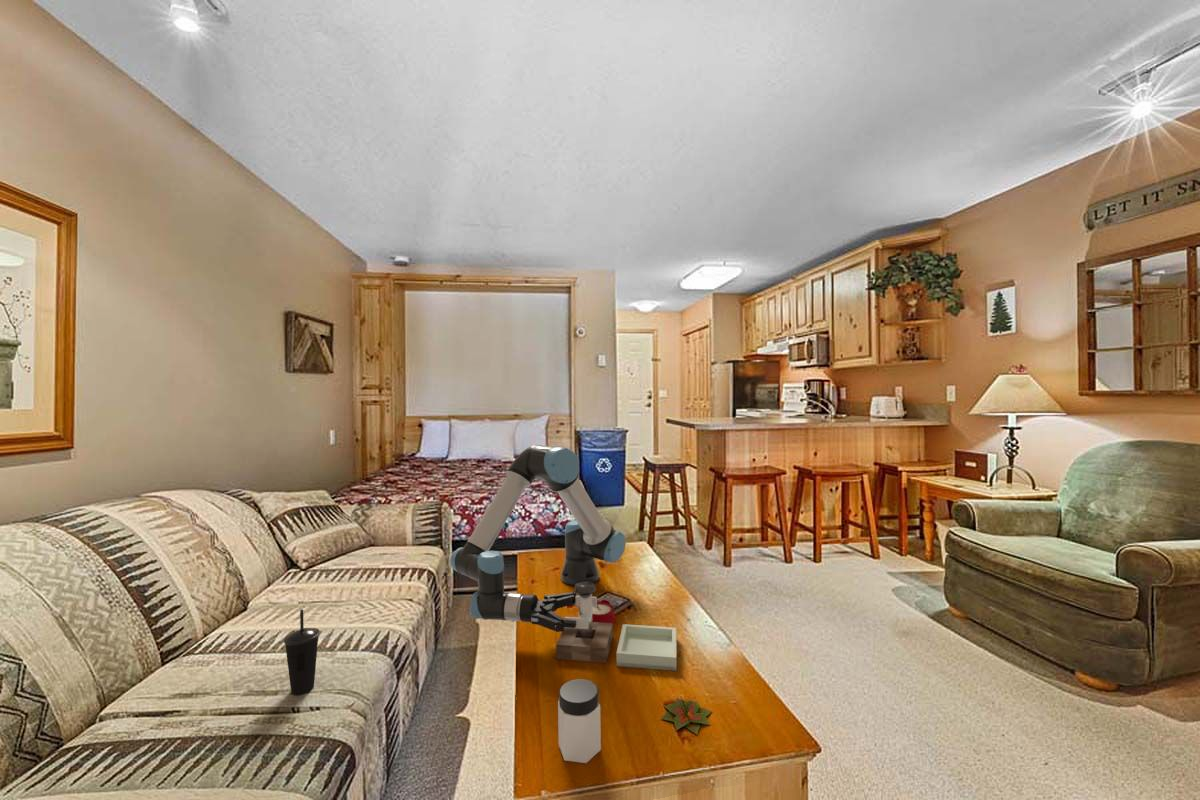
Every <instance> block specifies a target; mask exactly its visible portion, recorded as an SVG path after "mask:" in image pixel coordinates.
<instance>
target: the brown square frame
mask: <svg viewBox="0 0 1200 800" xmlns="http://www.w3.org/2000/svg"><path fill="white" fill-rule="evenodd" d="M592 627H593V639H588V638H579V629H578V628H565V627H564V631H563V632H561V634H560V636H559V637H558V640H557V642H556V643H555V644H556V647H555V651H556V653H555V655H556V656H555V657H556V659H557V660H564V661H565V660H567V661H575V662H576V661H577V662H579V661H580V662H591V663H604V664H606V663H607V662H606V661H608V658H607V657H609V654H610V649H611V646H612V643H613V642H612V641H613V637H614V629H613V628H614V623H599V622H592Z"/></svg>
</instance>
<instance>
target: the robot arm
mask: <svg viewBox="0 0 1200 800" xmlns="http://www.w3.org/2000/svg"><path fill="white" fill-rule="evenodd" d="M579 465H580V460H579V457H578V455H577V453H576V452H574V451H573V450H572V449H570V448H566V447H564V446H559V445H558V446H554V445H542V444H535V445H532V446H529V447H527V448H526V449H524V450H523V451H522V452H520V454H519V455H518V456H517V457H516V458H515V459H514V461H512V463H511V465H510V466H509V467H508V468H507V471H506V473H505V474H506V477H505V479H504V481H503V482H502V485H501V486H500V487H499V489H498V491H497V492H496V494H495V495H494V497H493V499H492V500H491V502H490V504H489V506H488V507H487V508H486V510H485V512H484V514H483V515H482V517H481V518H480V520H479V522H478V523H477V525H476V527H475V529H474V530H473V532H472V534H471V535H470V536H469V538H468V540H467V541H466V543H465V545H464V546H463V547H458V548H457V549H456V550H454V551H453V553H451V556H450V559H449V563H450V567H451V568H452V569H453V570H454V572H457V573H458V575H459V574H460V575H462V576H465V577H468V578H469V579H472V580H474V581H476V582H477V584H478V585H477V587H478V590H477V591H475V592H474V593H473V594H472V596H471V597H470V605H469V612H470V616H471V617H472V618H475V619H481V620H485V621H486V620H487V621H488V620H497V621H498V620H499V621H510V622H512V623H514V622H520V621H521V622H523V623H531V625H535V626H536V625H538V626H541V627H544V628H545V629H549V630H551V631H553V632H556V633H560V632H561V633H562V632H563V631H564V627H565V628H578V629H588V628H589V621H588V618H579V616H578V617H577V616H565V617H563V616H561V615H559V614H557V613H555V611H557V610H558V609H561V608H565V607H569V606H573V605H575V606H577V607H579V606H578V595H577V593H575V591H570V592H564V593H556V594H545V595H543V599H539V598H538V596H537V594H531V593H525V594H523V593H515V592H505V586H504V583H505V581H504V580H505V579H504V578H505V564H504V563H505V562H504V555H503V552H501V551H499V550H491V548H492V546H493V545H494V543H495V540H496V539H497V537H498V535H499V534H500V532H501V530H502V528H503V526H504V525H505V523H506V521H507V520H508V519H509V517H510V515H511V513H512V511H513V510H514V508H515V507H516V505H517V503H518V501H519V500H520V498H521V497H522V495H523V492H524V491H525V489H526V488H529V487H531V485H532V483H533V482H534V481H535V480H537V479H538V480H542V481H544V482H545V484H546V485H547V487H548V488H549V489H550V491H552V492H553V493H557V494H558V495H559V497H560V498H561V500H562V502H563V503H564V504H565V507H566V508H567V510H568V511H569V512H570V514H571V515H572V516H573V518H574V520H572V521H571V520H570V521H568V522H567V523H565V528H564V529H565V530H564V531H565V532H564V548H565V549H564V551H565V553H564V554H565V555H564V556H565V558H564V559H565V560H564V563H563V565H562V570H561V573H560V574H561V575H560V577H561V581H562V582H563V583H565V584H566V585H567V584H568V585H571V586H575V584H577V583H579V582H584V581H587V582H592V583H594V584H595V583H596V582H597V581H598V580H599V579H600V574H599V573H600V572H599V569H598V565H597V562H596V560H600V561H603V562H605V563H611V564H614V563H617V562H618V561H619V560H620V559H621V558H622V556H623V555H624V553H625V549H626V543H627V542H626V536H625V534H624V533H623V532H621V531H620V530H615V529H614V527H613V526H612V524H611V523H610V522H609V520H608V519H605V518H604V519H603V517H602V515H601V513H600V512H599V510H598V508H597V507H596V506H595V504H594V503H593V501H592V500H591V498H590V495H589V494H588V492H587V490H586V489H585V488H584V486H583V484H582V483H581V481H580V479H579V477H580V466H579ZM597 601H598V596H592V607H597Z"/></svg>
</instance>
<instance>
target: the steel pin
mask: <svg viewBox="0 0 1200 800" xmlns="http://www.w3.org/2000/svg"><path fill="white" fill-rule="evenodd" d="M574 592H575V593H576V595H577V596H578V606H577V607H578V617H579V618H588V621H589V628H588V629H579V638H588V639H593V627H592V597H593V594H594V593H595V592H596V584H595V582H594V583H592V582H587V581H584V582H579V583H577V584H575V585H574Z"/></svg>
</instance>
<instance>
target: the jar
mask: <svg viewBox="0 0 1200 800" xmlns="http://www.w3.org/2000/svg"><path fill="white" fill-rule="evenodd" d="M557 718H558V720H557V725H558V727H557V728H558V731H557V732H558V747H559V749H560V753H561V755H562V758H563V760H564V761H565V762H573V763H580V764H587V763H588V762H590V761H591V760H592V758H594V757H595V756H596V755H597V754H598V753H600V751H601V749H602V745H601V743H602V740H601V739H602V738H601V737H602V736H601V735H602V734H601V731H602V730H601V704H600V702H599V688H598V686H597V684H596V683H594V682H593V681H591V680H589V679H584V678H574V679H571V680H568V681H566V682H565V683H563V684H562V685H561V687H560V688H559V693H558V701H557Z"/></svg>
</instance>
